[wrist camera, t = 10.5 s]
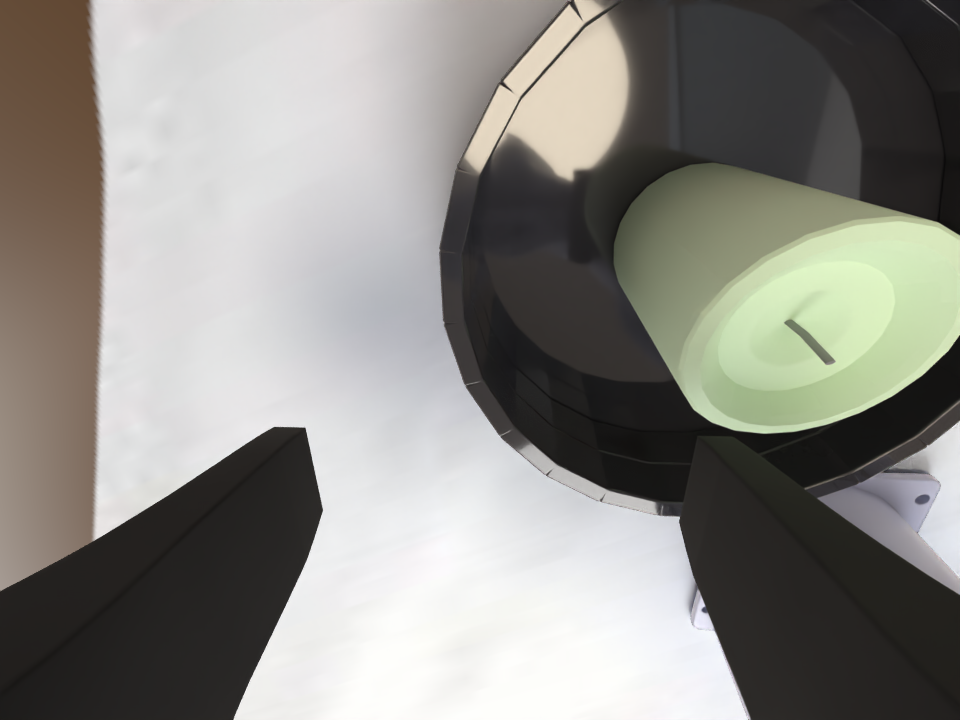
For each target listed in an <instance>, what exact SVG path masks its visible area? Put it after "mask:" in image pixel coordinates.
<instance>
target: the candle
mask: <svg viewBox="0 0 960 720" xmlns="http://www.w3.org/2000/svg"><path fill="white" fill-rule="evenodd" d="M614 267H615V271H616V275H617V279H618V282H619V284H620V286H621V287H622V289H623V291H624V293H625V294H626V296H627V298H628V299H629V301H630V303H631V305H632V306H633V308H634V310H635V311H636V313H637V315H638V317H639V318H640V320H641V322H642V323H643V325H644V327H645V329H646V330H647V332H648V334H649V335H650V337H651V339H652V341H653V342H654V344H655V346H656V348H657V349H658V351H659V353H660V354H661V356H662V358H663V360H664V361H665V363H666V365H667V366H668V368H669V370H670V372H671V373H672V375H673V377H674V378H675V380H676V382H677V384H678V385H679V387H680V389H681V390H682V392H683V394H684V395H685V397H686V398H687V400H688V402H689V403H690V405H691V406H692V408H693V409H694V410H695V411H696V412H698V413H699V414H701V415H702V416H703V417H705V418H706V419H707V420H709V421H710V422H712V423H715V424H718V425H720V426H723V427H726V428H729V429H732V430H736V431H745V432H754V433H763V434H766V433H782V432H795V431H800V430H805V429H809V428H814V427H819V426H823V425H827V424H830V423H833V422H836V421H839V420H841V419H844V418H847V417H850V416H852V415H855V414H858V413H861V412H862V411H864V410H866V409H868V408H870V407H872V406H874V405H876V404H878V403H880V402H882V401H884V400H886V399H888V398H890V397H892V396H893V395H895V394H896V393H898V392H899V391H901V390H902V389H903V388H905V387H906V386H908V385H909V384H911V383H912V382H914V381H915V380H916V379H918V378H919V377H921V376H922V375H923V374H924V373H925V372H926V371H928V370H929V369H930V368H931V367H932V366H933V365H934V364H935V363H936V362H937V361H938V360H939V359H940V358H941V357H942V356H943V355H944V354H945V353H946V352H948V351H949V349H950V348H951V347H952V345H953V344H954V342H955V341H956V339H957V338H958V337H959V335H960V235H958V234H956V233H955V232H953V231H951V230H950V229H948V228H947V227H945V226H943V225H942V224H940V223H938V222H935V221H931V220H928V219H924V218H920V217H917V216H913V215H909V214H906V213H902V212H899V211H895V210H891V209H888V208H884V207H880V206H877V205H873V204H869V203H866V202H862V201H859V200H855V199H851V198H848V197H844V196H840V195H837V194H833V193H830V192H826V191H822V190H819V189H815V188H811V187H808V186H804V185H800V184H797V183H793V182H790V181H786V180H782V179H779V178H775V177H771V176H768V175H764V174H761V173H757V172H753V171H750V170H746V169H742V168H739V167H735V166H730V165H724V164H719V163H703V164H693V165H688V166H685V167H683V168H680V169H677V170H674V171H672V172H669V173H667V174H665V175H664V176H662V177H661V178H659V179H658V180H656V181H655V182H653V183H652V184H650V185H649V186H647V187H646V188H645V190H644V191H643V192H642V193H641V194H640V195H639V196H638V197H637V198H636V199H635V200H634V201H633V202H632V203H631V205H630V207H629V208H628V210H627V212H626V214H625V215H624V217H623V219H622V220H621V222H620V225H619V228H618V232H617V235H616V239H615V242H614Z"/></svg>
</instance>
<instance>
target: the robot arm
mask: <svg viewBox="0 0 960 720" xmlns="http://www.w3.org/2000/svg"><path fill="white" fill-rule="evenodd" d="M940 487H941V485H940V482H939V481H938V480H937V479H935V478H934V477H933V476H932V475H929V474H912V473H879V474H877V475H875V476H873V477H871V478H870V479H868V480H866V481H864V482H862V483H859V484H858V485H855V486H852V487H849V488H846V489H843V490H840V491H837V492H834V493H831V494H829V495H826V496H823V497H820V498H816V497H815V496H813V495H812V494H811V493H809V492H808V491H807V490H805V489H804V488H803V487H801V486H800V485H799V484H797V483H796V482H795V481H793V480H792V479H791V478H789V477H788V476H787V475H785V474H784V473H783V472H781V471H780V470H779V469H777V468H776V467H775V466H773V465H772V464H771V463H769V462H768V461H766V460H765V459H764V458H762V457H761V456H760V455H758V454H757V453H756V452H754V451H753V450H752V449H750V448H749V447H747V446H746V445H745V444H743V443H742V442H740V441H739V440H737V439H736V438H734V437H722V436H697V441H696V446H695V450H694V455H693V460H692V464H691V469H690V474H689V478H688V483H687V488H686V492H685V497H684V501H683V506H682V511H681V515H680V520H679V523H680V527H681V531H682V535H683V539H684V543H685V547H686V551H687V555H688V558H689V562H690V566H691V569H692V573H693V576H694V579H695V581H696V584H697V587H698V589H697V593H696V597H695V601H694V605H693V609H692V613H691V622H692V625H693V626H694V627H695V628H697V629H700V630H714V631H715V633H716V636H717V639H718V641H719V644H720V647H721V649H722V652H723V655H724V657H725V660H726V663H727V665H728V668H729V670H730V673H731V676H732V678H733V681H734V684H735V686H736V689H737V692H738V694H739V697H740V700H741V702H742V705H743V708H744V710H745V713H746V716H747V718H748V720H960V578H959V577H958V576H957V575H956V574H955V573H954V572H953V571H952V570H951V569H950V568H949V567H948V566H947V565H946V563H945V562H944V561H943V560H942V559H941V558H940V557H939V556H938V555H937V554H936V553H935V552H934V551H933V550H932V549H931V548H930V546H929V545H928V544H927V543H926V542H925V541H924V540H923V539H922V538H921V537H920V536H919V535H918V534H917V533H918V531H919V529H920V527H921V525H922V523H923V521H924V520H925V518H926V516H927V514H928V512H929V510H930V508H931V506H932V504H933V502H934V500H935V498H936V496H937V494H938V492H939V490H940ZM322 512H323V508H322V504H321V499H320V494H319V489H318V485H317V480H316V475H315V471H314V466H313V461H312V457H311V452H310V447H309V443H308V438H307V433H306V429H305V428H297V427H273V428H272V429H270V430H268V431H266V432H264V433H263V434H261V435H260V436H258V437H256V438H255V439H253V440H252V441H250V442H248V443H247V444H245V445H244V446H242V447H241V448H239V449H238V450H236V451H235V452H233V453H232V454H230V455H229V456H227V457H226V458H224V459H223V460H221V461H220V462H218V463H217V464H215V465H214V466H212V467H211V468H209V469H208V470H206V471H205V472H203V473H202V474H200V475H199V476H197V477H196V478H194V479H193V480H191V481H190V482H188V483H187V484H185V485H184V486H182V487H181V488H179V489H178V490H176V491H175V492H173V493H171V494H170V495H168V496H167V497H165V498H164V499H162V500H160V501H159V502H157V503H155V504H154V505H152V506H151V507H149V508H147V509H146V510H144V511H142V512H141V513H139V514H138V515H136V516H134V517H133V518H131V519H129V520H128V521H126V522H125V523H123V524H121V525H120V526H118V527H116V528H115V529H113V530H112V531H110V532H108V533H107V534H105V535H103V536H102V537H100V538H98V539H96V540H95V541H93V542H91V543H90V544H88V545H86V546H84V547H83V548H81V549H79V550H77V551H75V552H73V553H72V554H70V555H68V556H66V557H65V558H63V559H61V560H59V561H57V562H55V563H53V564H52V565H49V566H48V567H46V568H44V569H42V570H40V571H38V572H36V573H34V574H33V575H31V576H29V577H27V578H25V579H23V580H21V581H20V582H17V583H15V584H13V585H11V586H9V587H7V588H6V589H4V590H2V591H0V720H233V719H234V716H235V714H236V711H237V709H238V707H239V704H240V702H241V700H242V697H243V695H244V693H245V690H246V688H247V686H248V683H249V681H250V679H251V677H252V675H253V673H254V671H255V669H256V667H257V664H258V662H259V660H260V658H261V656H262V654H263V652H264V650H265V648H266V646H267V644H268V641H269V639H270V637H271V635H272V633H273V631H274V629H275V627H276V625H277V623H278V620H279V618H280V616H281V614H282V612H283V610H284V608H285V606H286V604H287V602H288V600H289V597H290V595H291V593H292V591H293V589H294V587H295V585H296V582H297V580H298V578H299V576H300V574H301V572H302V569H303V567H304V565H305V563H306V561H307V558H308V555H309V552H310V549H311V546H312V543H313V540H314V538H315V534H316V531H317V528H318V525H319V521H320V518H321V515H322Z"/></svg>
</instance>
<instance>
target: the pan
mask: <svg viewBox="0 0 960 720" xmlns="http://www.w3.org/2000/svg"><path fill="white" fill-rule="evenodd" d="M500 82H501V83H500ZM500 82H499V83H498V85H497V87H496V89H495V91H494V93H493V95H492V97H491V99H490V101H489V103H488V105H487V107H486V109H485V111H484V113H483V115H482V117H481V119H480V121H479V123H478V125H477V127H476V129H475V131H474V133H473V135H472V137H471V139H470V141H469V143H468V145H467V147H466V149H465V151H464V153H463V155H462V157H461V159H460V161H459V163H458V165H457V169H456V171H455V176H454V181H453V186H452V190H451V195H450V200H449V204H448V209H447V214H446V219H445V223H444V228H443V233H442V238H441V242H440V247H439V249H440V252H439V258H440V275H441V293H442V311H443V321H444V327H445V330H446V333H447V336H448V339H449V341H450V344H451V347H452V350H453V353H454V356H455V359H456V362H457V365H458V368H459V371H460V373H461V376H462V379H463V382H464V384H465V385H466V388H467V390H468V391H469V393H470V394H471V396H472V397H473V398H474V400H475V401H476V403H477V404H478V406H479V407H480V409H481V410H482V411H483V413H484V414H485V416H486V417H487V419H488V420H489V422H490V423H491V424H492V426H493V427H494V429H495V430H496V432H497V433H498V434H499V436H501V438H502V439H503V440H504V441H505V442H506V443H508V444H509V445H510V446H511V447H512V448H514V449H515V450H516V451H517V452H518V453H520V454H521V455H522V456H523V457H524V458H525V459H527V460H528V461H529V462H530V463H531V464H533V465H534V466H535V467H536V468H537V469H539V470H540V471H541V472H542V473H543V474H544V475H546V476H548V477H550V478H552V479H554V480H556V481H558V482H560V483H562V484H564V485H566V486H568V487H570V488H572V489H574V490H576V491H578V492H580V493H582V494H584V495H586V496H588V497H590V498H592V499H594V500H597V501H601V502H603V503H607V504H612V505H616V506H620V507H624V508H629V509H633V510H637V511H641V512H645V513H650V514H654V515H660V516H675V517H680V515H681V511H682V506H683V501H684V497H685V492H686V488H687V483H688V478H689V474H690V469H691V464H692V460H693V455H694V450H695V446H696V441H697V436H722V437H734V438H736V439H737V440H739V441H740V442H742V443H743V444H745V445H746V446H747V447H749V448H750V449H752V450H753V451H754V452H756V453H757V454H758V455H760V456H761V457H762V458H764V459H765V460H766V461H768V462H769V463H771V464H772V465H773V466H775V467H776V468H777V469H779V470H780V471H781V472H783V473H784V474H785V475H787V476H788V477H789V478H791V479H792V480H793V481H795V482H796V483H797V484H799V485H800V486H801V487H803V488H804V489H805V490H807V491H808V492H809V493H811V494H812V495H813V496H815V497H816V498H820V497H823V496H826V495H829V494H831V493H834V492H837V491H840V490H843V489H846V488H849V487H852V486H855V485H858V484H859V483H862V482H864V481H866V480H868V479H870V478H871V477H873V476H875V475H877V474H879V473H880V472H882V471H884V470H886V469H888V468H890V467H891V466H893V465H895V464H897V463H899V462H901V461H902V460H904V459H906V458H908V457H910V456H911V455H913V454H915V453H917V452H919V451H921V450H922V449H924V448H926V447H927V445H930V444H932V443H933V442H934V441H935V440H937V439H938V438H939V437H940V436H942V435H943V434H944V433H945V432H947V431H948V430H949V429H950V428H952V427H953V426H954V425H955V424H957V423H958V422H959V421H960V335H959V337H958V338H957V339H956V341H955V342H954V344H953V345H952V347H951V348H950V349H949V351H948V352H946V353H945V354H944V355H943V356H942V357H941V358H940V359H939V360H938V361H937V362H936V363H935V364H934V365H933V366H932V367H931V368H930V369H929V370H928V371H926V372H925V373H924V374H923V375H922V376H921V377H919V378H918V379H916V380H915V381H914V382H912V383H911V384H909V385H908V386H906V387H905V388H903V389H902V390H901V391H899V392H898V393H896V394H895V395H893V396H892V397H890V398H888V399H886V400H884V401H882V402H880V403H878V404H876V405H874V406H872V407H870V408H868V409H866V410H864V411H862V412H861V413H858V414H855V415H852V416H850V417H847V418H844V419H841V420H839V421H836V422H833V423H830V424H827V425H823V426H819V427H814V428H809V429H805V430H800V431H795V432H782V433H766V434H763V433H754V432H745V431H736V430H732V429H729V428H726V427H723V426H720V425H718V424H715V423H712V422H710V421H709V420H707V419H706V418H705V417H703V416H702V415H701V414H699V413H698V412H696V411H695V410H694V409H693V408H692V406H691V405H690V403H689V402H688V400H687V398H686V397H685V395H684V394H683V392H682V390H681V389H680V387H679V385H678V384H677V382H676V380H675V378H674V377H673V375H672V373H671V372H670V370H669V368H668V366H667V365H666V363H665V361H664V360H663V358H662V356H661V354H660V353H659V351H658V349H657V348H656V346H655V344H654V342H653V341H652V339H651V337H650V335H649V334H648V332H647V330H646V329H645V327H644V325H643V323H642V322H641V320H640V318H639V317H638V315H637V313H636V311H635V310H634V308H633V306H632V305H631V303H630V301H629V299H628V298H627V296H626V294H625V293H624V291H623V289H622V287H621V286H620V284H619V282H618V279H617V275H616V271H615V267H614V242H615V239H616V235H617V232H618V228H619V225H620V222H621V220H622V219H623V217H624V215H625V214H626V212H627V210H628V208H629V207H630V205H631V203H632V202H633V201H634V200H635V199H636V198H637V197H638V196H639V195H640V194H641V193H642V192H643V191H644V190H645V188H646V187H647V186H649V185H650V184H652V183H653V182H655V181H656V180H658V179H659V178H661V177H662V176H664V175H665V174H667V173H669V172H672V171H674V170H677V169H680V168H683V167H685V166H688V165H693V164H703V163H719V164H724V165H730V166H735V167H739V168H742V169H746V170H750V171H753V172H757V173H761V174H764V175H768V176H771V177H775V178H779V179H782V180H786V181H790V182H793V183H797V184H800V185H804V186H808V187H811V188H815V189H819V190H822V191H826V192H830V193H833V194H837V195H840V196H844V197H848V198H851V199H855V200H859V201H862V202H866V203H869V204H873V205H877V206H880V207H884V208H888V209H891V210H895V211H899V212H902V213H906V214H909V215H913V216H917V217H920V218H924V219H928V220H931V221H935V222H938V223H940V224H942V225H943V226H945V227H947V228H948V229H950V230H951V231H953V232H955V233H956V234H958V235H960V0H570V1H568V2H566V4H565V5H564V6H563V7H562V8H561V9H560V11H559V12H558V13H557V14H556V15H555V17H554V18H553V19H552V20H551V21H550V22H549V24H548V25H547V26H546V27H545V28H544V29H543V31H542V32H541V33H540V34H539V35H538V36H537V38H536V39H535V40H534V41H533V42H532V43H531V45H530V46H529V47H528V48H527V49H526V50H525V52H524V53H523V54H522V55H521V56H520V57H519V59H518V60H517V61H516V62H515V63H514V65H513V66H512V67H511V68H510V69H509V70H508V72H507V73H506V74H505V75H504V76H503V77H502V79H501V81H500Z"/></svg>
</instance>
